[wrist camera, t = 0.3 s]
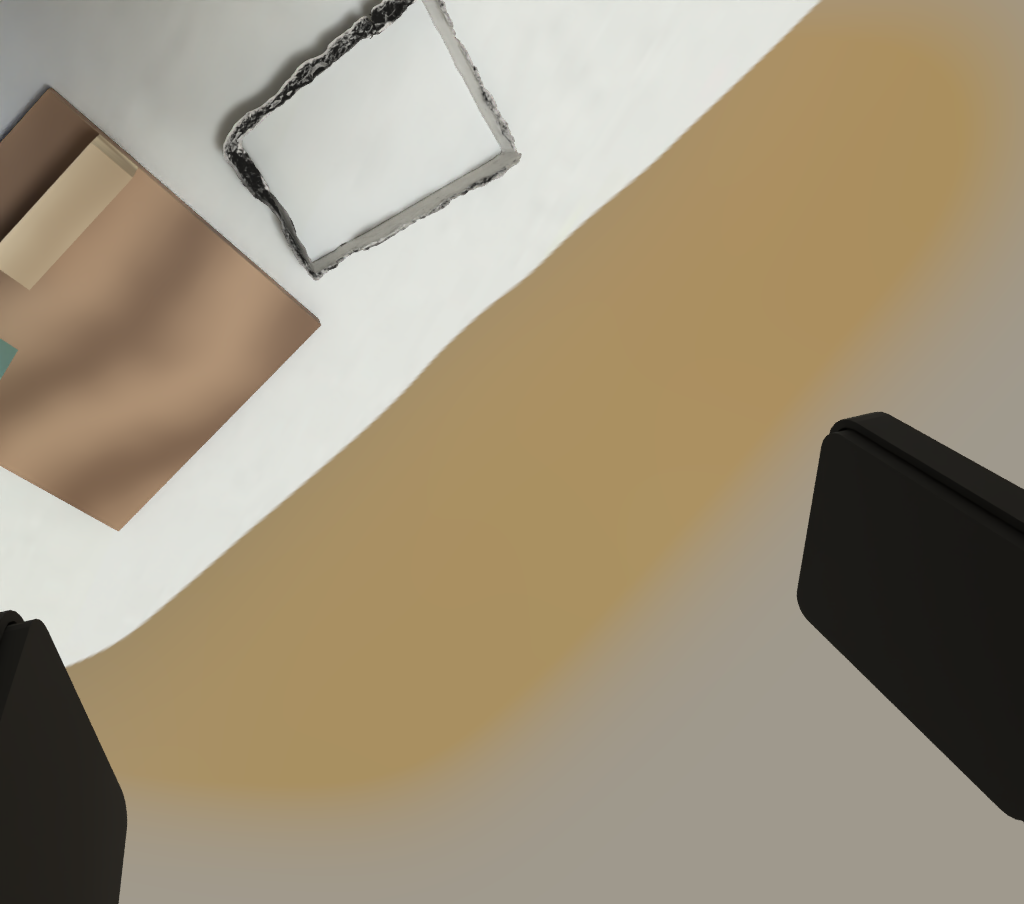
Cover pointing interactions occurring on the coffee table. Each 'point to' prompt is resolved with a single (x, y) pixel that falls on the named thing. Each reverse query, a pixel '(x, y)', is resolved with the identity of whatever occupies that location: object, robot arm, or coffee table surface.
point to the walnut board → (119, 319)
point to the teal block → (6, 356)
